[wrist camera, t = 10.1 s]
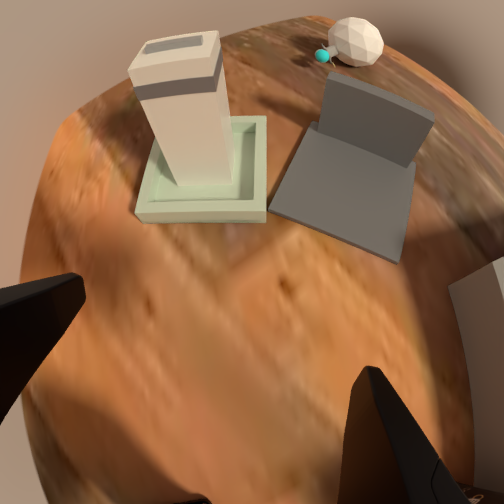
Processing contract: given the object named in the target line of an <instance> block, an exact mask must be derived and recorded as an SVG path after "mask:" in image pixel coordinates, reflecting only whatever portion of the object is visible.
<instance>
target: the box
mask: <svg viewBox="0 0 504 504" xmlns="http://www.w3.org/2000/svg"><path fill="white" fill-rule="evenodd" d="M447 287H448V290H449V293H450V297H451V300H452V304H453V307H454V311H455V314H456V318H457V322H458V326H459V330H460V335H461V339H462V344H463V348H464V353H465V359H466V364H467V370H468V376H469V383H470V390H471V399H472V408H473V421H474V443H475V464H474V485H473V487H477V488H481V489H486V490H490V491H495V492H500V493H504V257H502V258H500V259H497V260H495V261H493V262H491V263H489V264H488V265H486V266H484V267H482V268H481V269H479V270H477V271H475V272H473V273H471V274H470V275H468V276H466V277H464V278H462V279H460V280H458V281H456V282H454V283H452V284H450V285H448V286H447Z"/></svg>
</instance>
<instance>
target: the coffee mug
mask: <svg viewBox="0 0 504 504" xmlns="http://www.w3.org/2000/svg"><path fill="white" fill-rule="evenodd" d="M456 483H457V482H456ZM457 484H458V486H459V487H460V489H461V490H462V491H463V493H464V494H465V495H466V497H467V498H468V499H469V500H470V502H471V503H472V504H504V493H500V492H495V491H490V490H486V489H481V488H477V487H473V486H469V485H465V484H461V483H457Z"/></svg>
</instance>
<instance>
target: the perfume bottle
mask: <svg viewBox="0 0 504 504" xmlns="http://www.w3.org/2000/svg"><path fill="white" fill-rule="evenodd" d="M328 37H329V47H327V48H325V47H324V46H323V44H322V43H321V45H322V47H323V49H319V50H317V51H316V52H315V59H316V60H317V61H318V62H320V63H325V62H327V61H328V60H329V61H330V62H331V57H333V56H336V57H337V58H338V59H339V60H341V61H342V62H344V63H345V64H348V65H352V66H355V67H359V66H366V65H372V64H373V63H374V62H375V61H376V60H377V59H378V57H379V56H380V55H381V54H382V50H383V45H384V43H383V41H382V38H381V35H380V33H379V31H378V29H377V28H376V27H374V26H373V25H372V24H370V23H369V22H368V21H367V20H365V19H359V18H353V17H349V18H345V19H341V20H338V21H337V22H336V23H335V24H334V25H333V26H332V27H331V28H330V30H329V31H328ZM331 64H333V65H334V63H333V62H331ZM334 67H335V65H334Z"/></svg>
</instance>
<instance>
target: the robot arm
mask: <svg viewBox="0 0 504 504" xmlns="http://www.w3.org/2000/svg"><path fill="white" fill-rule="evenodd" d="M85 300H86V293H85V287H84V281H83V278H82V276H80V275H78V274H76V273H73V272H71V273H66V274H62V275H57V276H53V277H48V278H44V279H40V280H35V281H31V282H27V283H22V284H18V285H14V286H9V287H6V288H1V289H0V425H1V423H2V421H3V419H4V418H5V416H6V415H7V413H8V411H9V410H10V408H11V406H12V405H13V404H14V402H15V401H16V399H17V398H18V396H19V395H20V393H21V392H22V390H23V389H24V387H25V386H26V384H27V383H28V381H29V380H30V379H31V377H32V376H33V374H34V373H35V372H36V370H37V369H38V367H39V366H40V365H41V363H42V362H43V361H44V359H45V358H46V357H47V355H48V354H49V353H50V351H51V350H52V349H53V348H54V346H55V345H56V344H57V342H58V341H59V340H60V338H61V337H62V336H63V334H64V333H65V331H66V330H67V328H68V327H69V325H70V324H71V322H72V321H73V319H74V318H75V316H76V315H77V313H78V312H79V310H80V309H81V307H82V306H83V304H84V303H85ZM202 503H206V504H212V503H211V502H210V501H209V500H208V499H199V500H194V501H188V502H182V503H175V504H202ZM337 504H472V503H471V502H470V500H469V499H468V498H467V497H466V495H465V494H464V493H463V491H462V490H461V489H460V487H459V486H458V484H457V483H456V482H455V480H454V479H453V477H452V476H451V474H450V473H449V471H448V470H447V468H446V467H445V465H444V463H443V462H442V460H441V459H439V456H438V454H437V452H436V451H435V449H434V448H433V446H432V445H431V443H430V442H429V440H428V439H427V437H426V435H425V434H424V432H423V431H422V429H421V428H420V426H419V425H418V423H417V422H416V420H415V419H414V417H413V416H412V414H411V413H410V411H409V410H408V408H407V407H406V405H405V404H404V402H403V401H402V400H401V398H400V397H399V395H398V394H397V392H396V391H395V389H394V388H393V386H392V385H391V384H390V382H389V381H388V379H387V378H386V376H385V375H384V374H383V372H382V371H381V369H380V368H378V367H373V366H365V367H364V368H363V370H362V371H361V373H360V374H359V376H358V378H357V379H356V381H355V382H354V384H353V386H352V390H351V396H350V402H349V409H348V415H347V421H346V427H345V433H344V441H343V454H342V466H341V476H340V485H339V494H338V501H337Z"/></svg>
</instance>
